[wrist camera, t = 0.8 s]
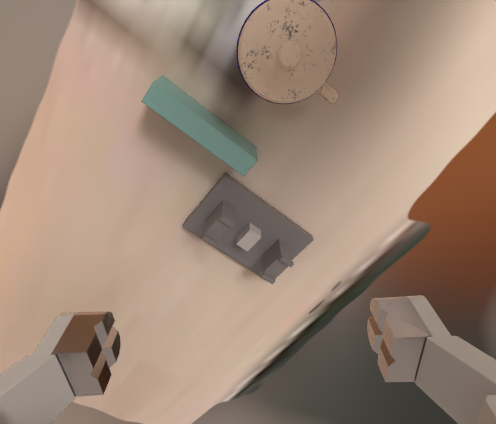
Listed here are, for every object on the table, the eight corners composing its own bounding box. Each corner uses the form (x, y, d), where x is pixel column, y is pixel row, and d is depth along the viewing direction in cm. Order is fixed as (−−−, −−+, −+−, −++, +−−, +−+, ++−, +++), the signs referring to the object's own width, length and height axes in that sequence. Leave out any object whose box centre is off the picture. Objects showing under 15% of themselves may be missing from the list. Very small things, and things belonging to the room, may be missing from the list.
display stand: (225, 172, 47) (222, 191, 42) (312, 235, 51) (318, 258, 46) (183, 222, 50) (176, 244, 45) (268, 277, 55) (270, 302, 50)
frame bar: (163, 75, 41) (153, 82, 36) (256, 146, 45) (257, 160, 41) (152, 92, 42) (141, 101, 37) (244, 161, 46) (243, 176, 42)
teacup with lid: (222, 51, 39) (213, 63, 29) (276, -23, 36) (287, -39, 26) (299, 120, 43) (314, 151, 33) (355, 58, 40) (391, 73, 29)
